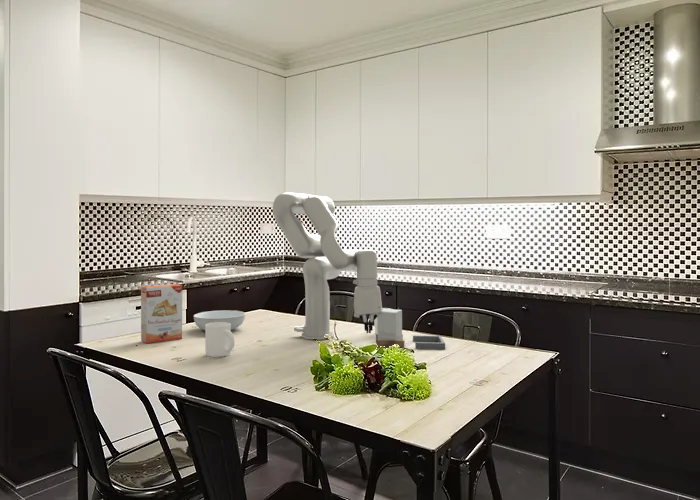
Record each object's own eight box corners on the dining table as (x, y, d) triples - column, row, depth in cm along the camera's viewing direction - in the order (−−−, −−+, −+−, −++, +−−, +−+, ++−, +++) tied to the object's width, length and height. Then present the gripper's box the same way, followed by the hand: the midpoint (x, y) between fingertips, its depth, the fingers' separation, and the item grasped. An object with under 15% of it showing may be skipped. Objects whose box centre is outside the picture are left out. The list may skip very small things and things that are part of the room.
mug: (243, 355, 180) (243, 325, 180) (223, 360, 173) (223, 328, 173) (220, 350, 187) (219, 321, 187) (200, 355, 181) (200, 324, 180)
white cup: (393, 332, 222) (393, 308, 221) (392, 336, 214) (393, 311, 213) (374, 331, 222) (374, 307, 222) (373, 335, 215) (373, 310, 214)
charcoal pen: (415, 348, 192) (415, 342, 192) (412, 340, 205) (412, 335, 205) (445, 348, 192) (445, 343, 192) (440, 341, 205) (440, 335, 205)
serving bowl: (222, 323, 238) (222, 308, 238) (255, 329, 226) (255, 313, 226) (182, 331, 221) (182, 314, 221) (216, 337, 209) (216, 320, 209)
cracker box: (146, 344, 197) (146, 287, 196) (140, 341, 201) (140, 285, 200) (183, 339, 206) (182, 284, 205) (176, 336, 210) (176, 283, 209)
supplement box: (402, 343, 201) (402, 309, 200) (395, 347, 194) (396, 312, 194) (384, 341, 204) (384, 308, 203) (376, 345, 197) (377, 311, 197)
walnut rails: (376, 347, 193) (376, 340, 193) (376, 340, 205) (376, 334, 205) (404, 348, 193) (404, 341, 193) (402, 340, 205) (402, 334, 205)
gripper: (346, 284, 195) (348, 334, 195) (387, 283, 194) (389, 334, 195) (347, 282, 202) (348, 331, 203) (387, 281, 202) (388, 330, 202)
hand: (368, 332), depth 199 cm, fingers closed
